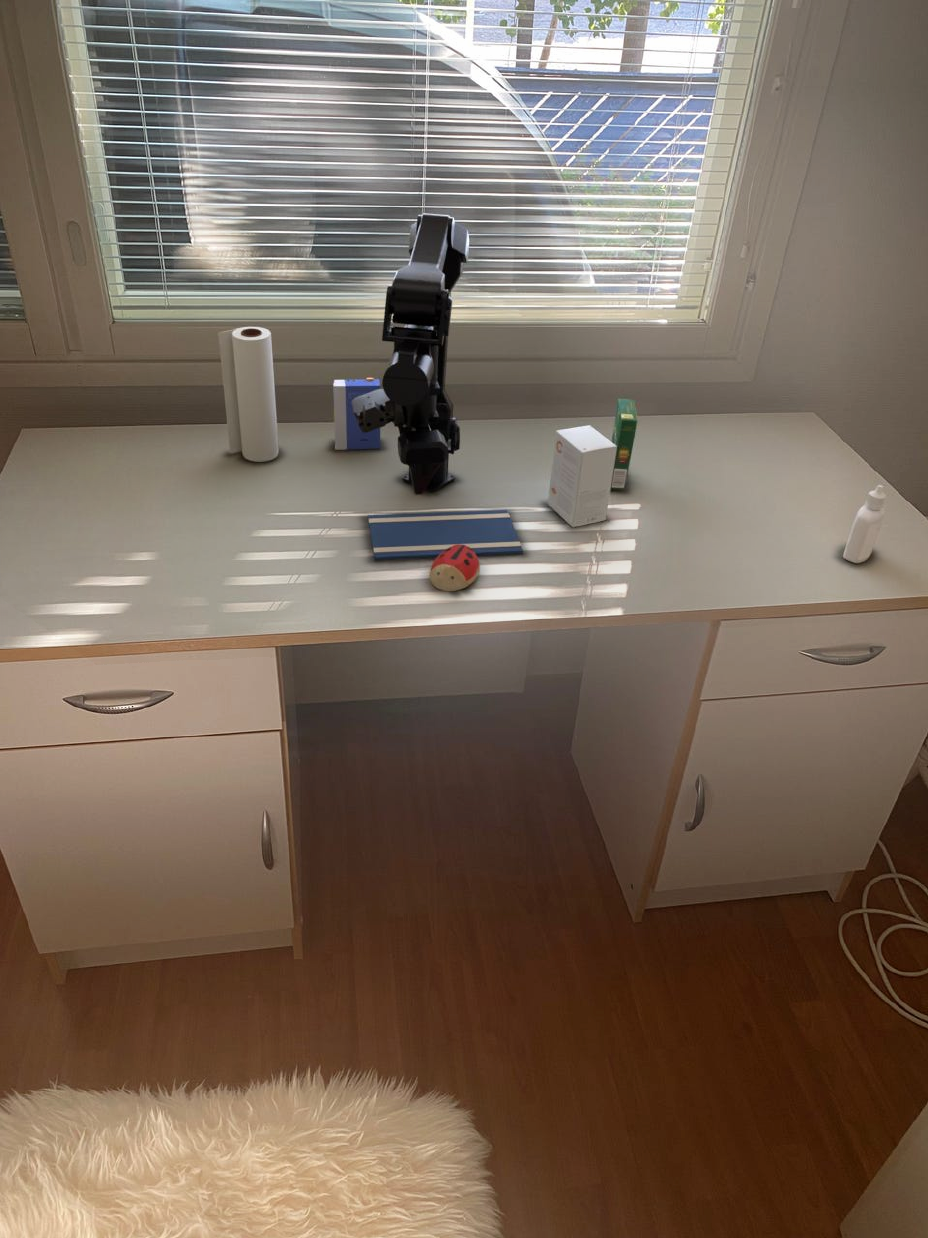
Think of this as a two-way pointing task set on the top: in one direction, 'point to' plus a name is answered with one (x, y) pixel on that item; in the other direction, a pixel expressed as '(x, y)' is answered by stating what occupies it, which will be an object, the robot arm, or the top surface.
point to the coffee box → (623, 441)
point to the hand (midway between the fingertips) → (413, 477)
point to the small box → (581, 475)
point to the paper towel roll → (249, 392)
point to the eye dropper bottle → (866, 527)
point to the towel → (442, 534)
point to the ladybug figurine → (455, 568)
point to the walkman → (352, 415)
